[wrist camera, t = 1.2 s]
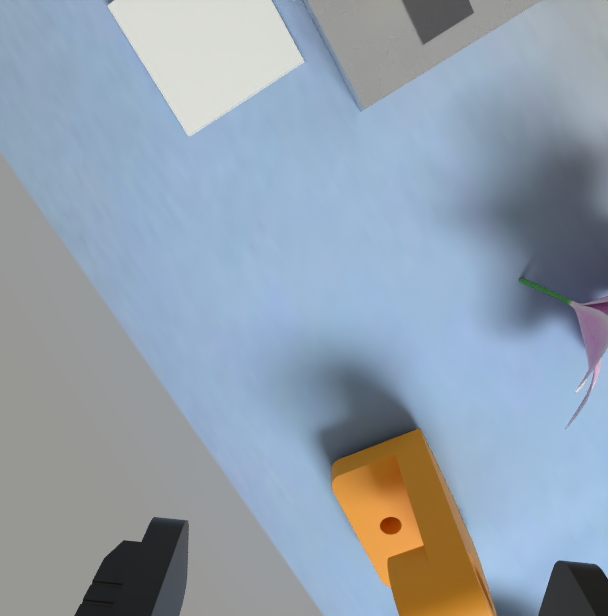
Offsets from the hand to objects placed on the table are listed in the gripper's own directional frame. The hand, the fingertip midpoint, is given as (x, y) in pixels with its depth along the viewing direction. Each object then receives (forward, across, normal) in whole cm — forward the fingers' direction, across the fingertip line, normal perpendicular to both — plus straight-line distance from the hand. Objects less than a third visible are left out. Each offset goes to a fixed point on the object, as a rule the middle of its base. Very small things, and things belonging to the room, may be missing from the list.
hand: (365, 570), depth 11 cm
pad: (+24, +9, -14) cm, 29 cm away
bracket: (+24, -7, +16) cm, 30 cm away
